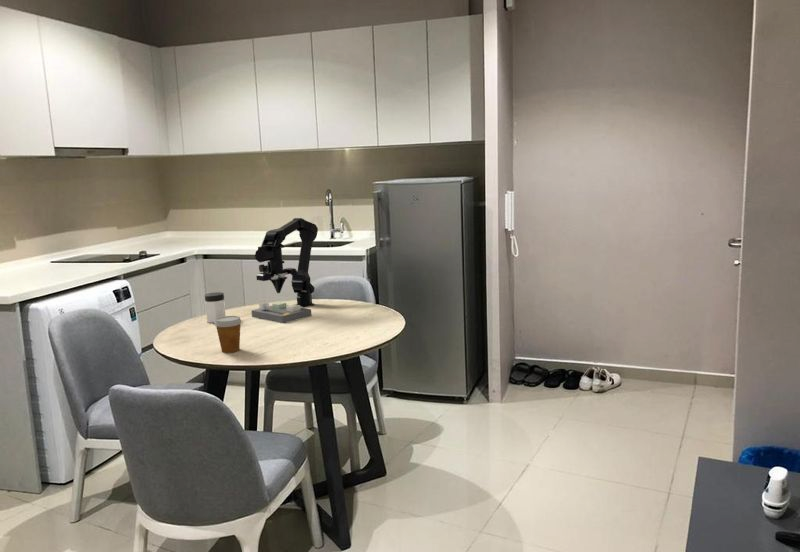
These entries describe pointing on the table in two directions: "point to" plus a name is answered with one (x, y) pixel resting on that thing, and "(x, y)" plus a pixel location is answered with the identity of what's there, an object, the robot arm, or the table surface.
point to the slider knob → (264, 305)
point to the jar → (214, 306)
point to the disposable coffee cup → (229, 333)
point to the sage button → (279, 305)
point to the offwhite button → (293, 308)
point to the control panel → (281, 314)
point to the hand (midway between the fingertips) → (278, 293)
